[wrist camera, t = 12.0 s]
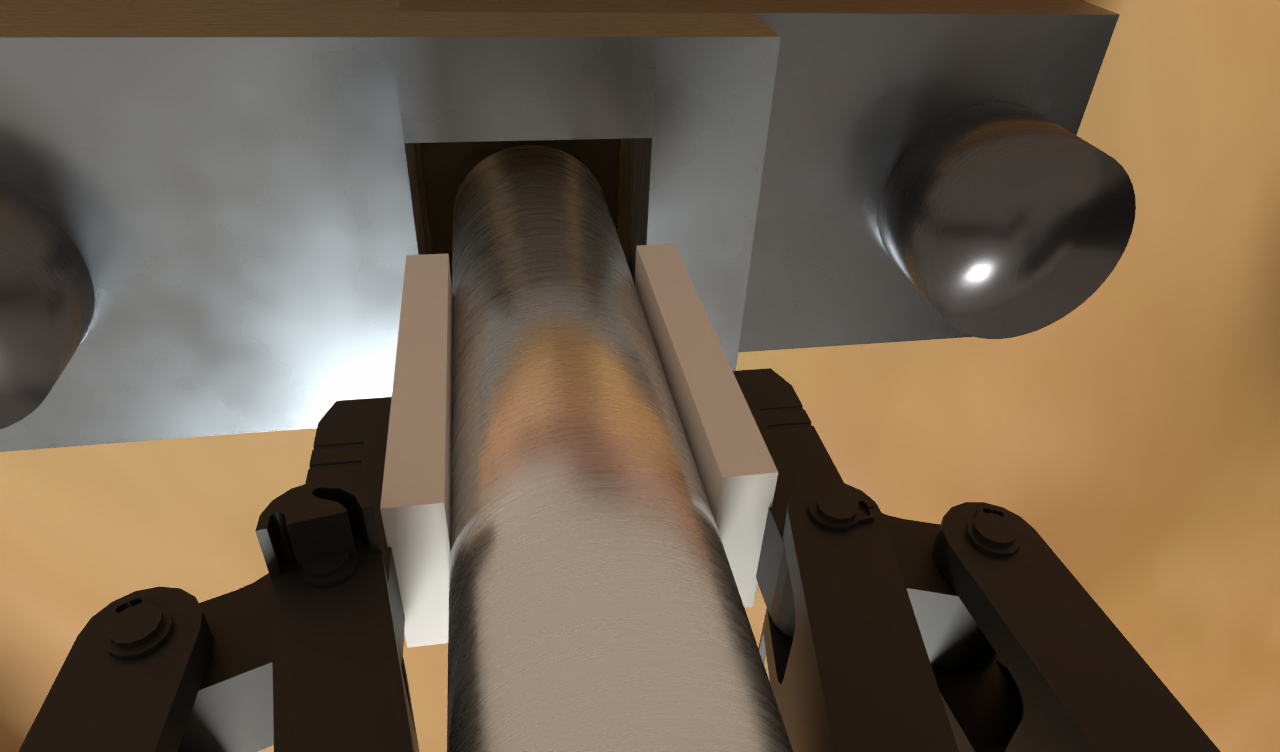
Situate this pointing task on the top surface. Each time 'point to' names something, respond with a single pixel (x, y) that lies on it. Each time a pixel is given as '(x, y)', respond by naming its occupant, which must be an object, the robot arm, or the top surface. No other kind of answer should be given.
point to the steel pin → (578, 497)
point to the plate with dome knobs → (516, 111)
